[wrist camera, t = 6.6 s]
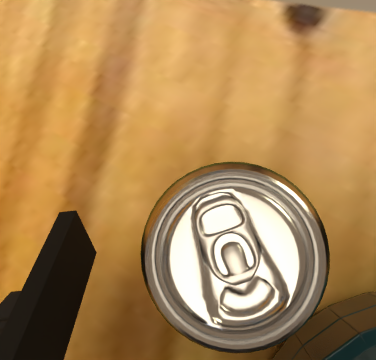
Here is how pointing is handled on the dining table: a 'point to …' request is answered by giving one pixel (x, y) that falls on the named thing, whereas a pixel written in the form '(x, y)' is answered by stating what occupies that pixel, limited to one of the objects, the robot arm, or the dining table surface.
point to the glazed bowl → (336, 333)
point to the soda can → (235, 257)
